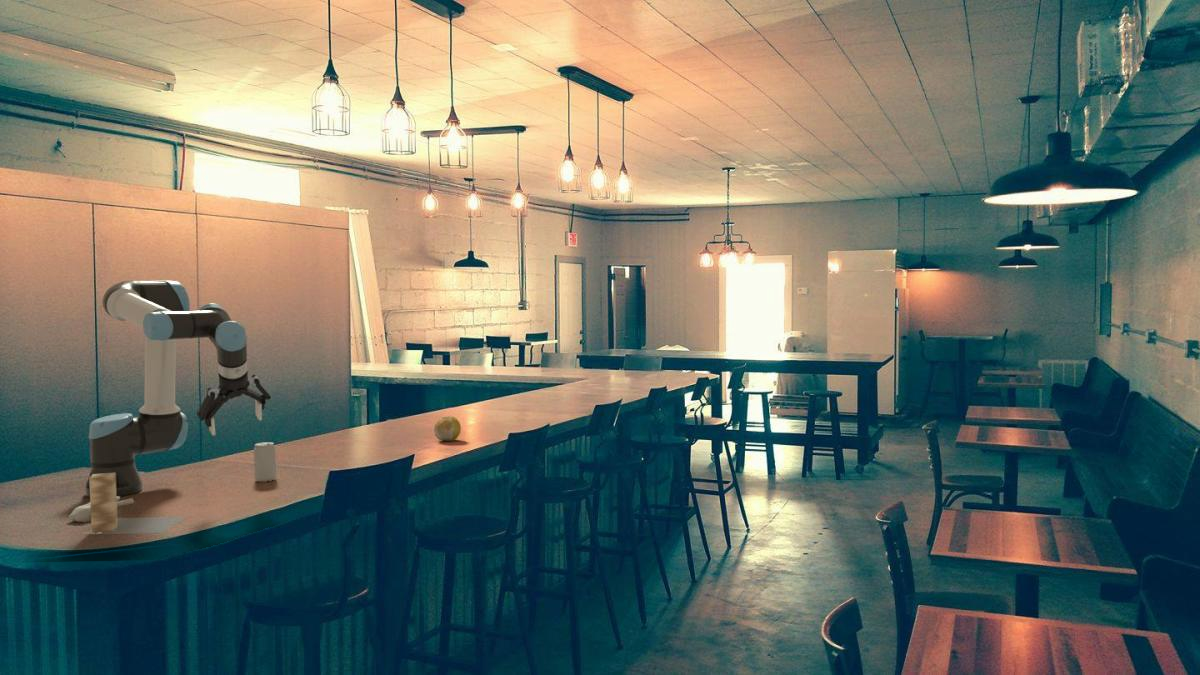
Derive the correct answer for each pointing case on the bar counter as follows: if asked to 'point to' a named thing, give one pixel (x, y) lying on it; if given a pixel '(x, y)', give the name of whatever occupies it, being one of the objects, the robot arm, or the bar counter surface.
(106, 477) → the maple block
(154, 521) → the rubber mat
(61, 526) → the bar counter surface
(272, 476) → the beverage can
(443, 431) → the fruit
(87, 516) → the bunny figurine
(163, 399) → the robot arm
